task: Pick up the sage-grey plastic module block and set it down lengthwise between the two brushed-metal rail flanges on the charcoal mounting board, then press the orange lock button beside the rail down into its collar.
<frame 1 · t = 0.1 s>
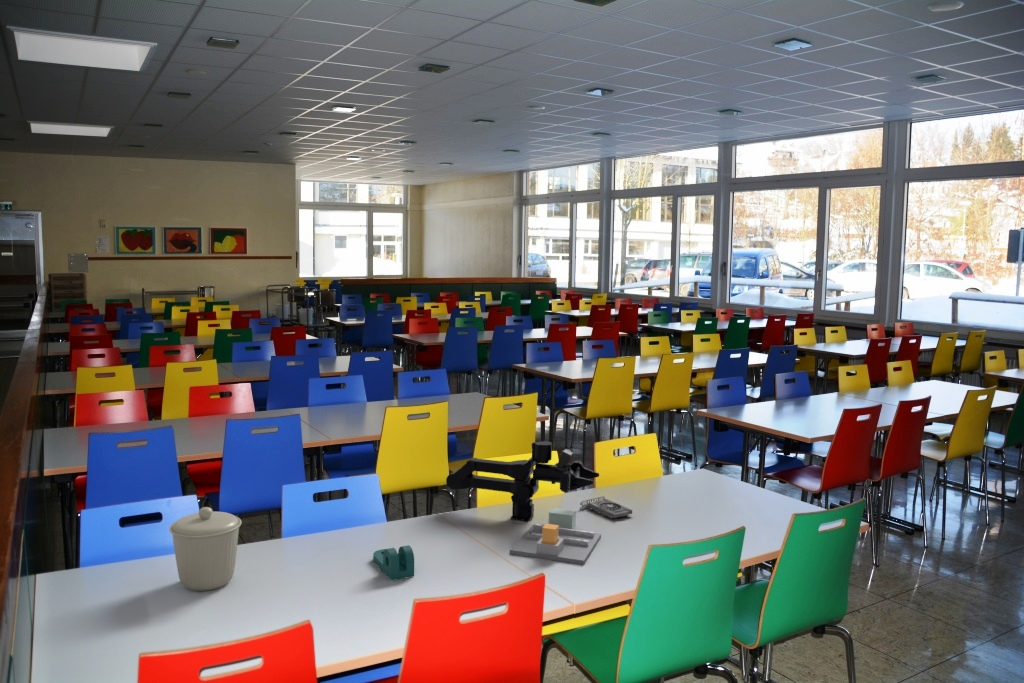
hand: (596, 478, 264), 17 cm above the table, tool horizontal, fingers open, 9 cm apart
lock button: (550, 534, 240), point 6 cm above the table, slide at 0.0 cm
rail board: (557, 544, 250), on the table
canister: (207, 584, 215), on the table
graphics card: (606, 514, 281), on the table
module block: (562, 526, 267), on the table
bracket: (391, 568, 229), on the table
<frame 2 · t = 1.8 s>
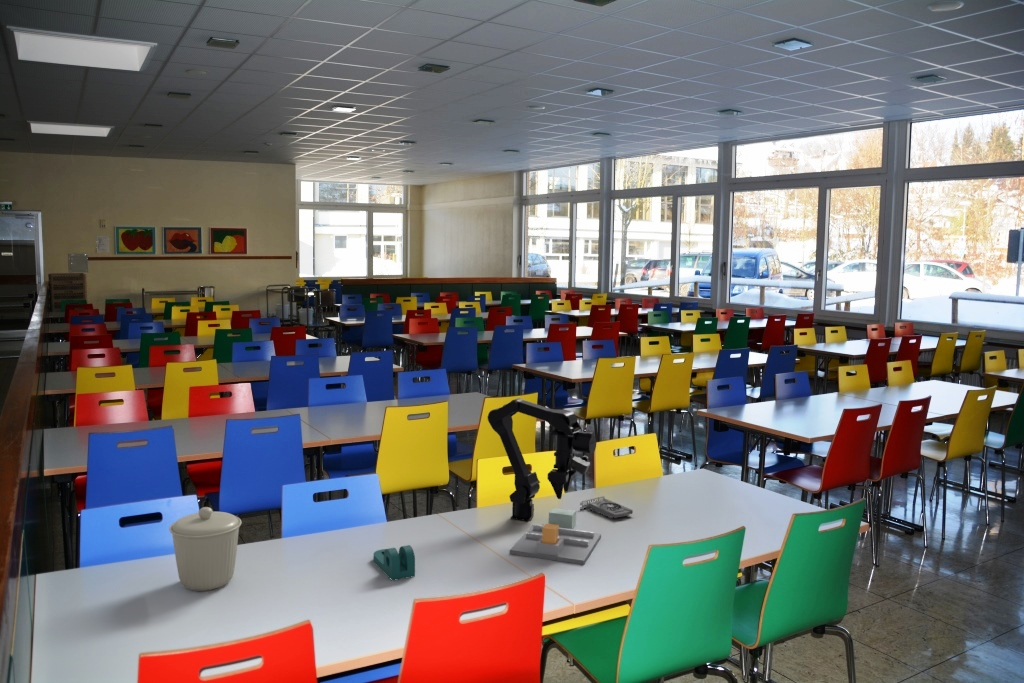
hand: (562, 494, 265), 11 cm above the table, tool pointing down, fingers open, 9 cm apart
nothing on the table moved.
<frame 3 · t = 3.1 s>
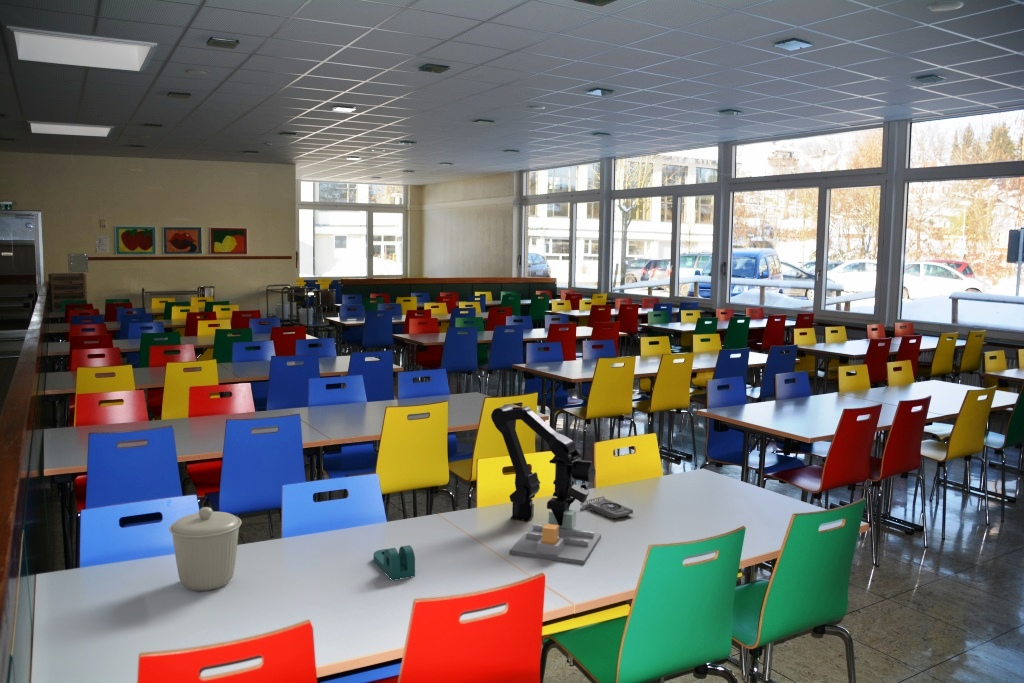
hand: (562, 522, 266), 1 cm above the table, tool pointing down, fingers closed on module block, 5 cm apart
module block: (562, 525, 267), on the table, touching gripper
everything else where it was.
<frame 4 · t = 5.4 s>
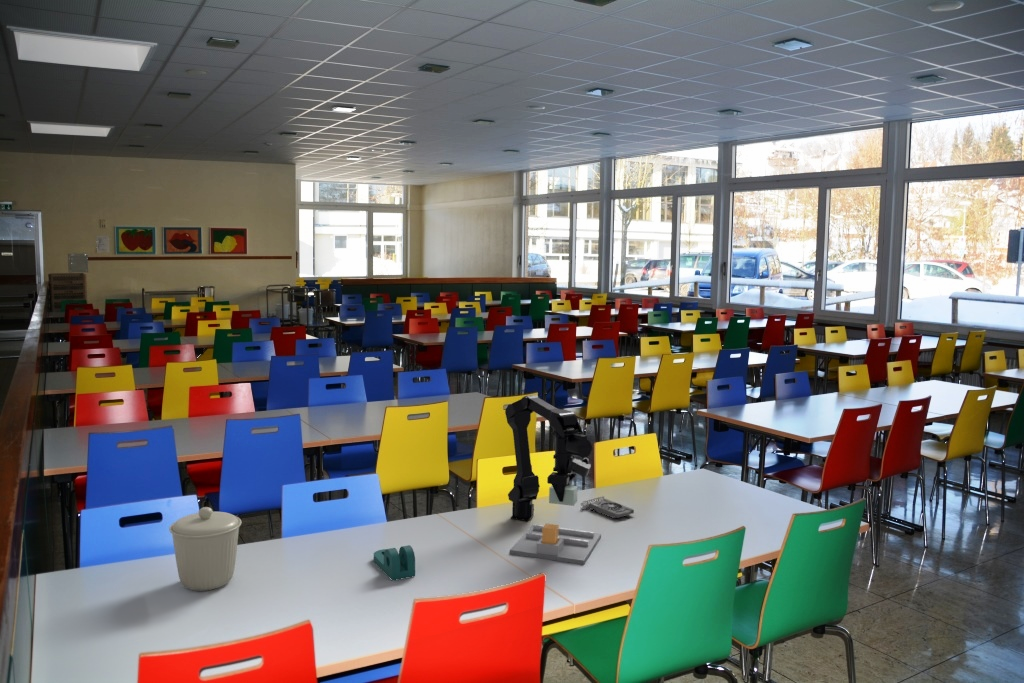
hand: (563, 499, 255), 12 cm above the table, tool pointing down, fingers closed on module block, 5 cm apart
module block: (563, 502, 255), point 11 cm above the table, touching gripper
everything else where it was.
when the fingers open (4 cm above the table, at t = 7.7 s): module block drops 1 cm, resting on rail board.
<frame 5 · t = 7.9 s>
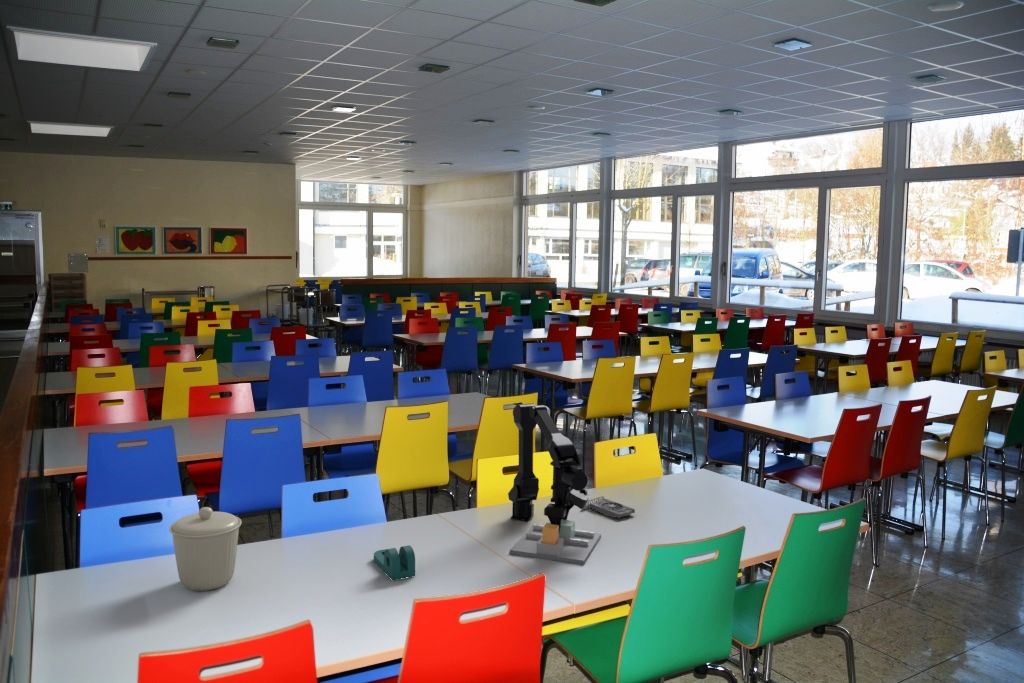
hand: (560, 529, 252), 4 cm above the table, tool pointing down, fingers open, 7 cm apart
module block: (560, 537, 252), point 1 cm above the table, touching rail board
everything else where it was.
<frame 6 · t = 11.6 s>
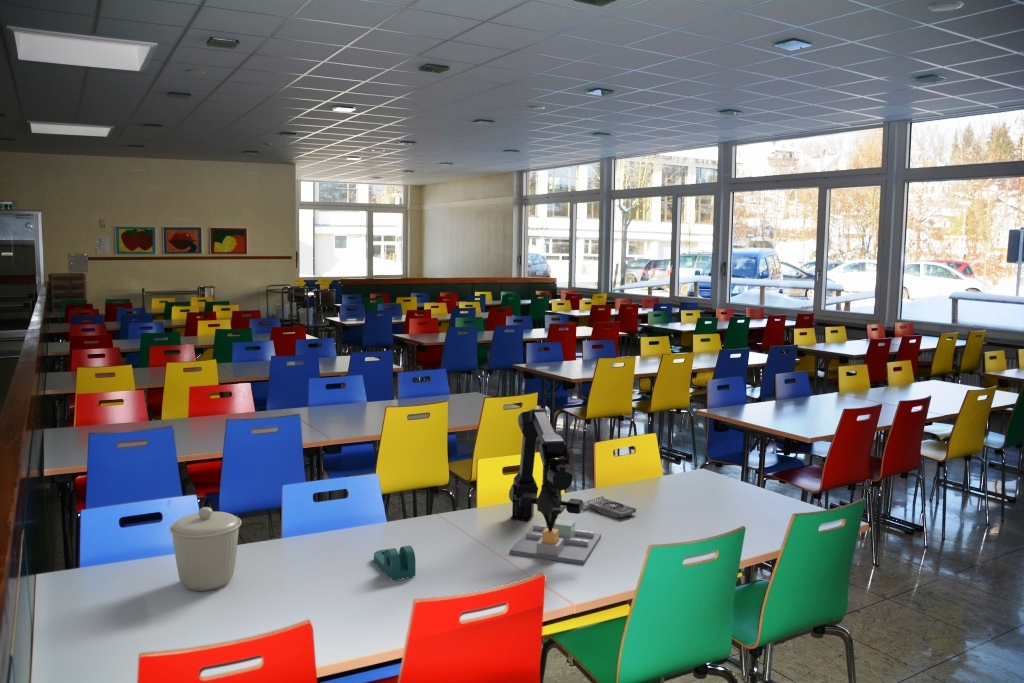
hand: (550, 530, 240), 7 cm above the table, tool pointing down, fingers closed, pressing on lock button
lock button: (550, 538, 240), point 5 cm above the table, slide at 1.3 cm, touching gripper
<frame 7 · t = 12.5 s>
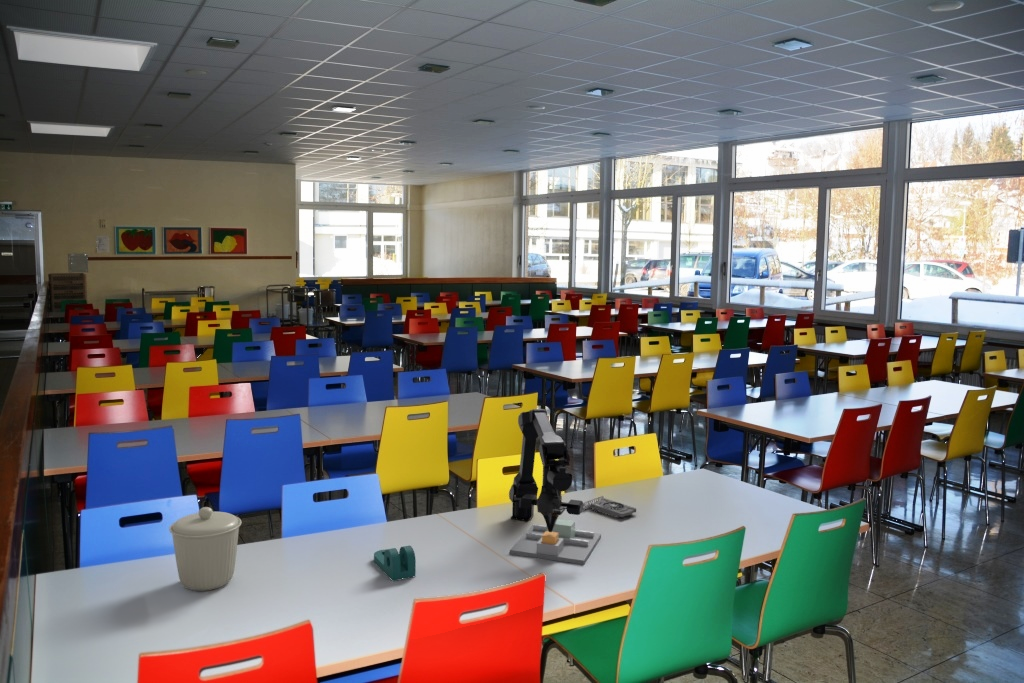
hand: (550, 531, 240), 7 cm above the table, tool pointing down, fingers closed
lock button: (550, 542, 241), point 4 cm above the table, slide at 2.4 cm
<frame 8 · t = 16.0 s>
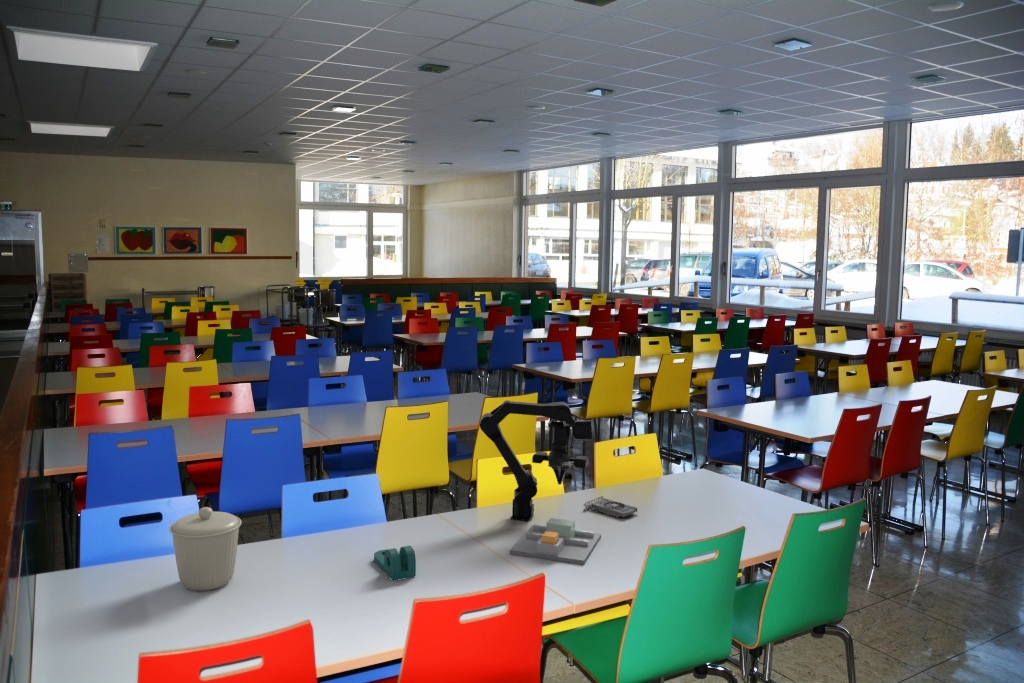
hand: (559, 484, 273), 12 cm above the table, tool pointing down, fingers closed
at the end: module block inside the target area (0.0 cm from its centre), point 1.2 cm above the table; module block tilted 0°; lock button slide at 2.4 cm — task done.
